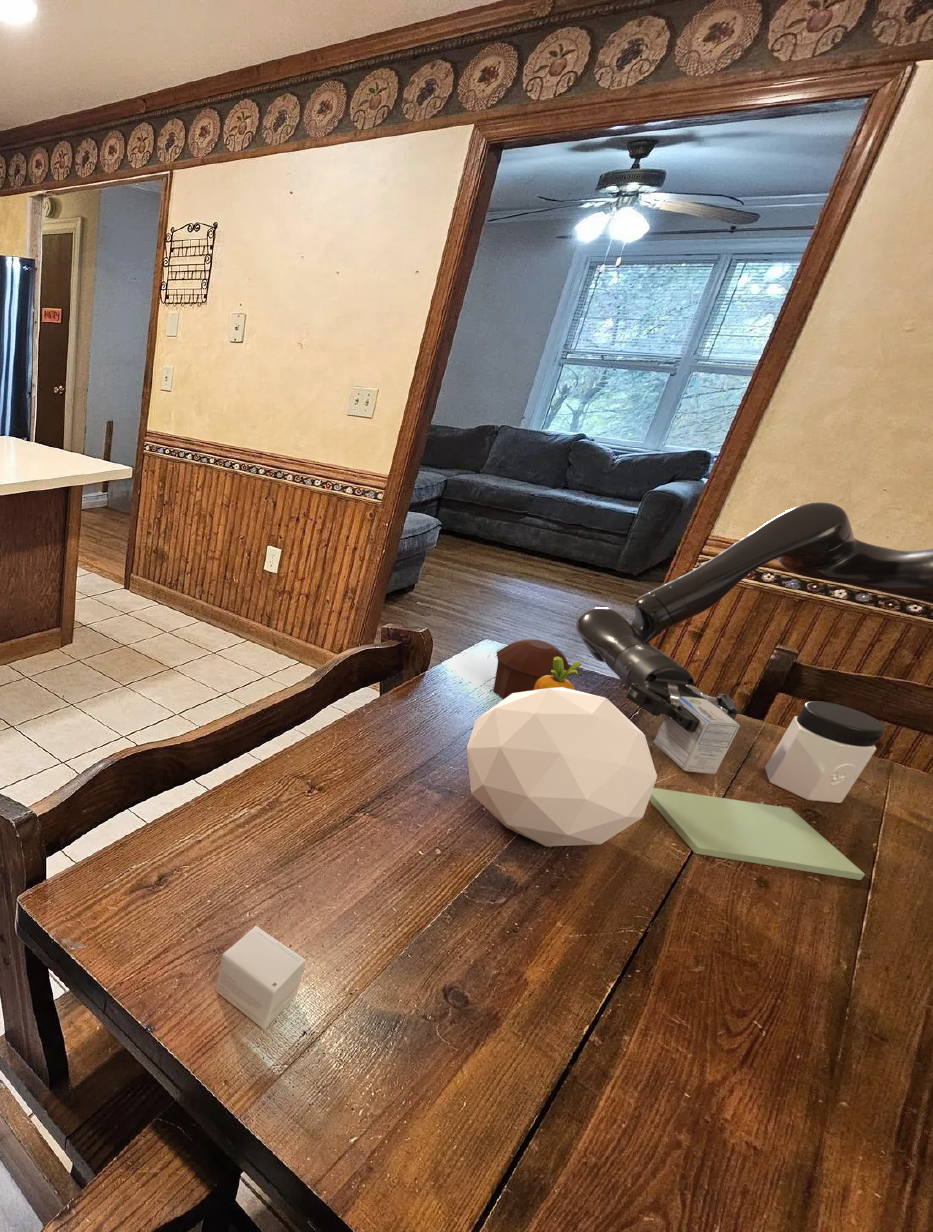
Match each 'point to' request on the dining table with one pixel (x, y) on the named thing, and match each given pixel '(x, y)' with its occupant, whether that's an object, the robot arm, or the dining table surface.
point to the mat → (750, 833)
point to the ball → (560, 766)
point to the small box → (259, 976)
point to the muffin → (524, 665)
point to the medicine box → (698, 737)
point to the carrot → (557, 676)
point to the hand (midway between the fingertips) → (713, 728)
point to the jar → (824, 751)
